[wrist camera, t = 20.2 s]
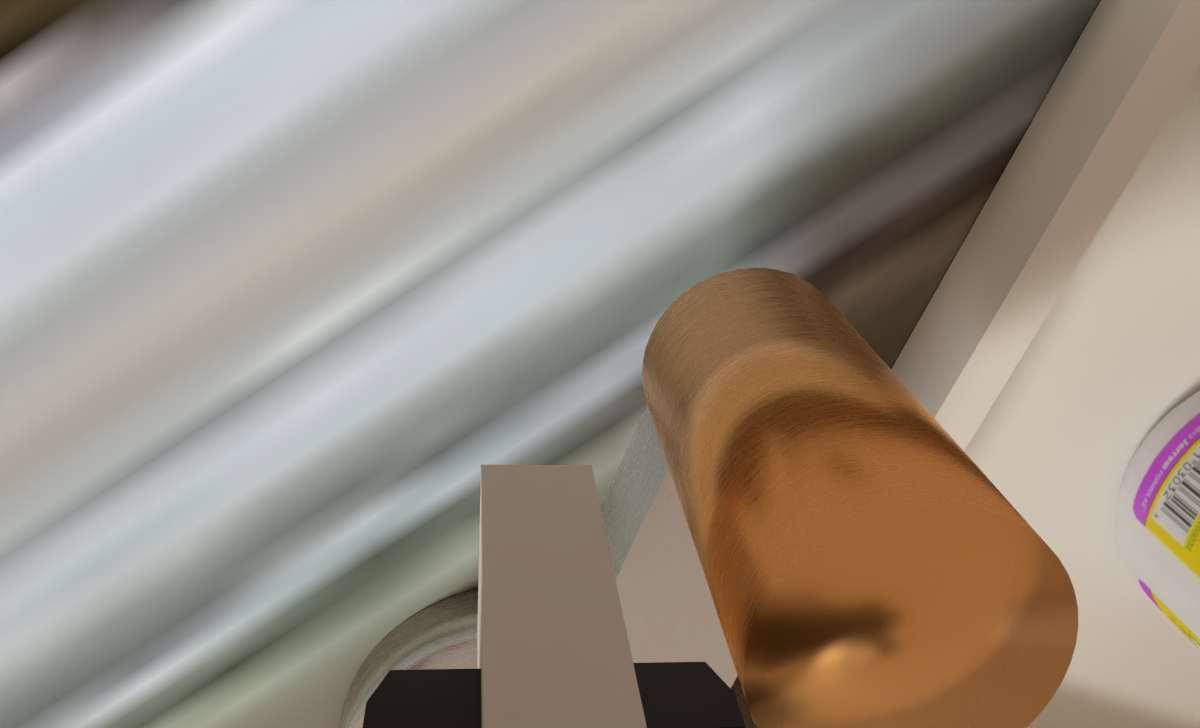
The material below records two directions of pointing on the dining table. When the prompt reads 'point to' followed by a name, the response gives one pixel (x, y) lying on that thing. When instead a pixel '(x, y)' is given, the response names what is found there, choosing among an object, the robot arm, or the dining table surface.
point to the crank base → (418, 650)
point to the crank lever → (823, 528)
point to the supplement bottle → (1165, 517)
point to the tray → (1085, 338)
